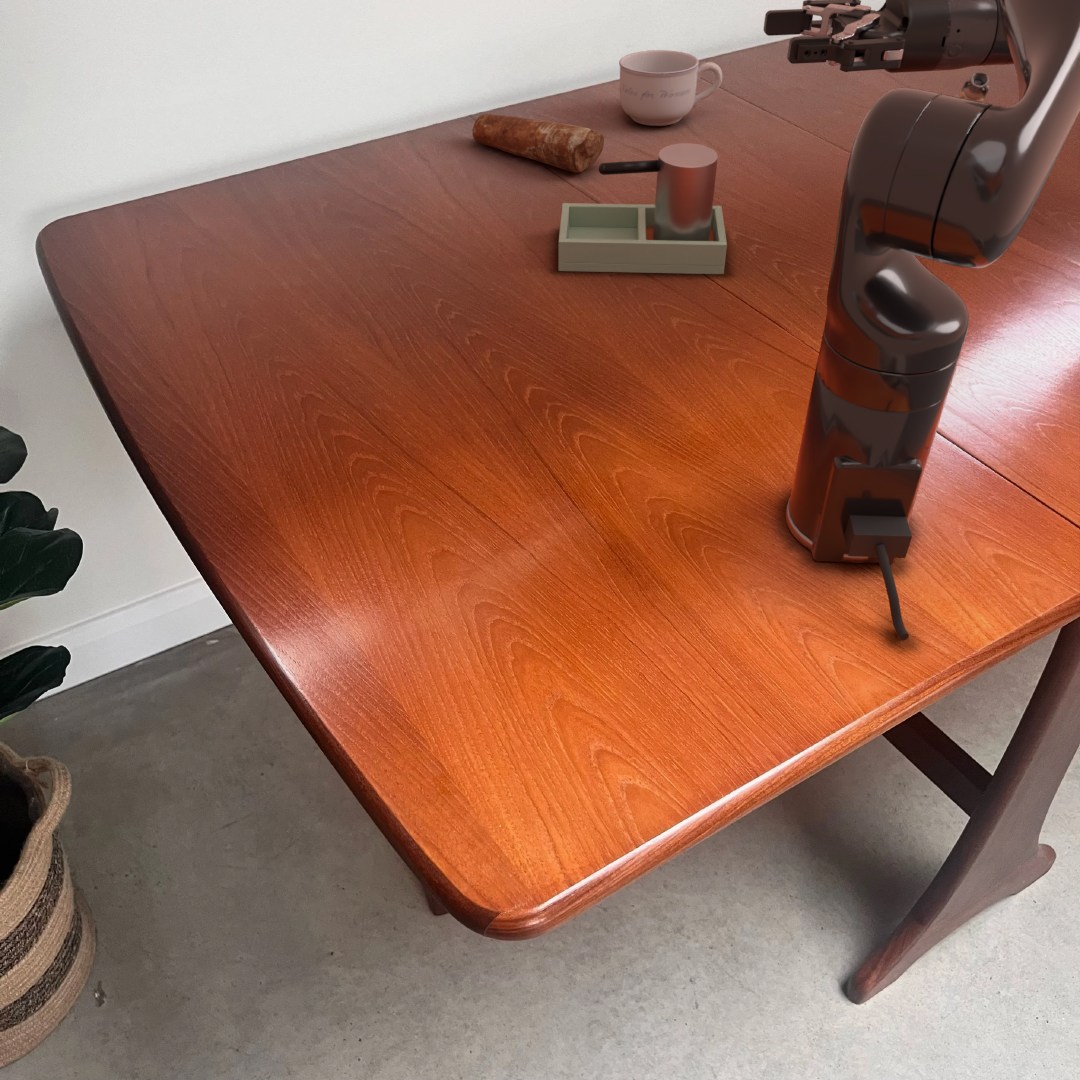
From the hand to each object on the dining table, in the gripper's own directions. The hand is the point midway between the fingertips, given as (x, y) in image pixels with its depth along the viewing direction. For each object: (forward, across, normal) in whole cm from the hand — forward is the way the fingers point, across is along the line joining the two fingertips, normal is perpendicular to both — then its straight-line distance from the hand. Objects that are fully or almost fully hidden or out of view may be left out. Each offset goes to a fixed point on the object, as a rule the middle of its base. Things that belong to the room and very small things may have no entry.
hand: (776, 36), depth 102 cm
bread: (+22, -28, +23) cm, 42 cm away
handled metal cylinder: (+11, 0, +21) cm, 24 cm away
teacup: (+1, -39, +22) cm, 45 cm away
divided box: (+12, -1, +23) cm, 26 cm away
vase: (-40, -34, +22) cm, 58 cm away
